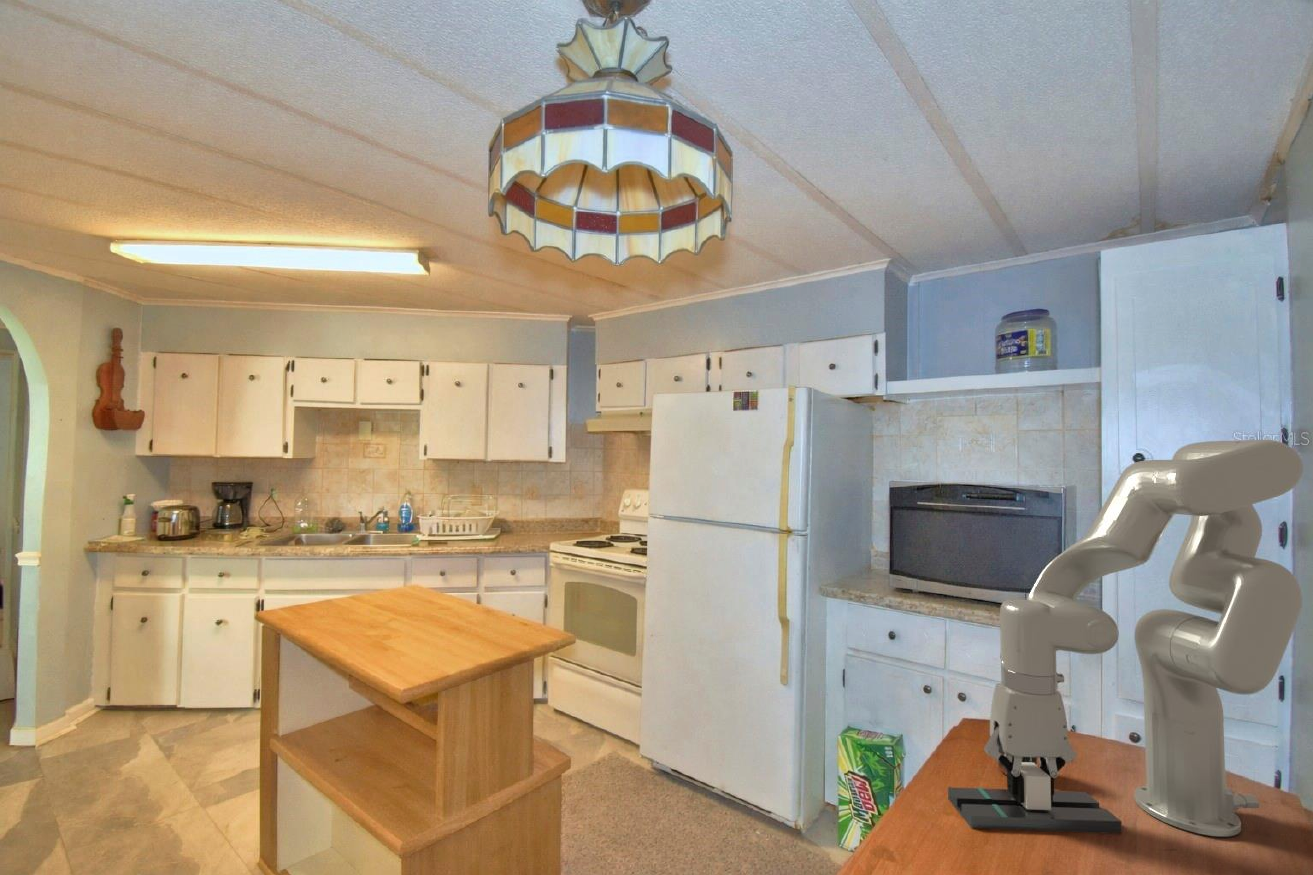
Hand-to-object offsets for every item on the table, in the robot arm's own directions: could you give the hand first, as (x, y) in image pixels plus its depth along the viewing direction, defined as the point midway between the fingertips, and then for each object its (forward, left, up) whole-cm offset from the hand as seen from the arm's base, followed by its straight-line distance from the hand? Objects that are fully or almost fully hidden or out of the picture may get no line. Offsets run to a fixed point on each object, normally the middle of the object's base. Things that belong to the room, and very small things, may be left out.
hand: (1030, 797), depth 94 cm
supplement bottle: (-5, -13, -3) cm, 14 cm away
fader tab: (0, 0, -2) cm, 2 cm away
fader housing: (0, 0, -3) cm, 3 cm away
